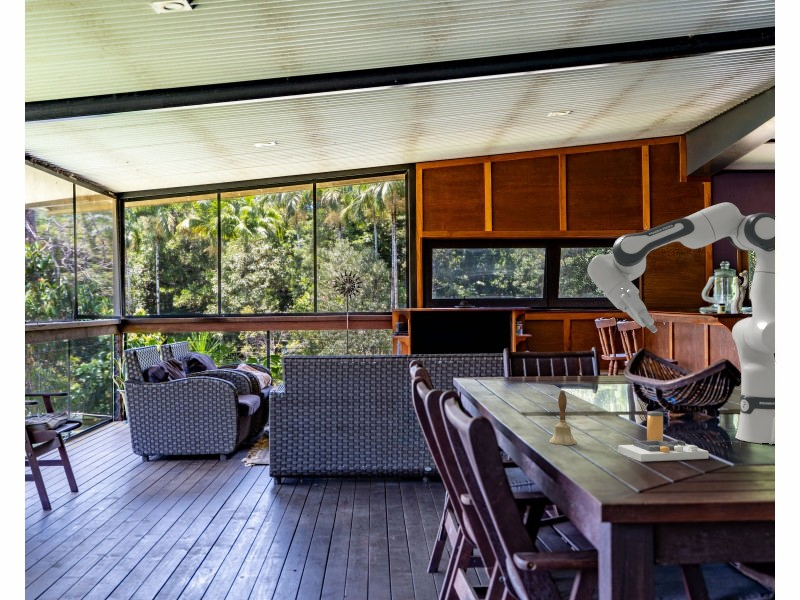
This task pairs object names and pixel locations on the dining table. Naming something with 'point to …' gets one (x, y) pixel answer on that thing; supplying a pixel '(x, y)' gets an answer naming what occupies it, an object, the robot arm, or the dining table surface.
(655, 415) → the orange capped cylinder
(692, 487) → the dining table surface
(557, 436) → the hand bell
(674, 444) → the board
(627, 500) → the dining table surface
